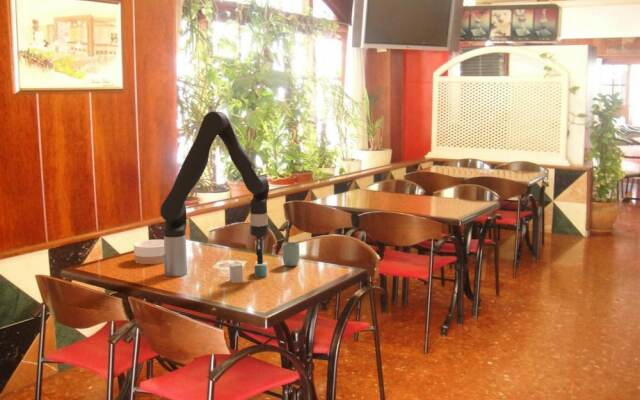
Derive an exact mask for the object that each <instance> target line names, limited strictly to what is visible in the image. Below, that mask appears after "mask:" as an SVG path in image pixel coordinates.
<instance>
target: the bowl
mask: <svg viewBox="0 0 640 400" xmlns="http://www.w3.org/2000/svg"><path fill="white" fill-rule="evenodd" d="M164 253H165V249H164V239H146V240H140V241H137V242H135V243H134V244H133V254H134V263H135V262H137V263H141V264H140V265H142V264H154V265H158V264H157V263H162V264H164ZM137 263H136V264H137Z"/></svg>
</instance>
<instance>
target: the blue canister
mask: <svg viewBox="0 0 640 400" xmlns="http://www.w3.org/2000/svg"><path fill="white" fill-rule="evenodd" d="M254 262H255V263H254V278H267V277H268V260H263V263H262V264H258V263H257V260H256V261H254Z"/></svg>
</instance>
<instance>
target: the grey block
mask: <svg viewBox="0 0 640 400" xmlns="http://www.w3.org/2000/svg"><path fill="white" fill-rule="evenodd" d="M243 277H244V275H243V264H241V263H240V262H239V263H237V262H236V263H230V264H229V281H230V283H232V284H236V283H238V284H239V283H244V282H243V281H244V279H243Z"/></svg>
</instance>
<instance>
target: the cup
mask: <svg viewBox="0 0 640 400" xmlns="http://www.w3.org/2000/svg"><path fill="white" fill-rule="evenodd" d="M281 256H282V263H283V264H284V266H287V267H295V266H298V264H299V262H300V243H299V242H293V241H289V242H287V241H286V242H283V243H282V244H281Z"/></svg>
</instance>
